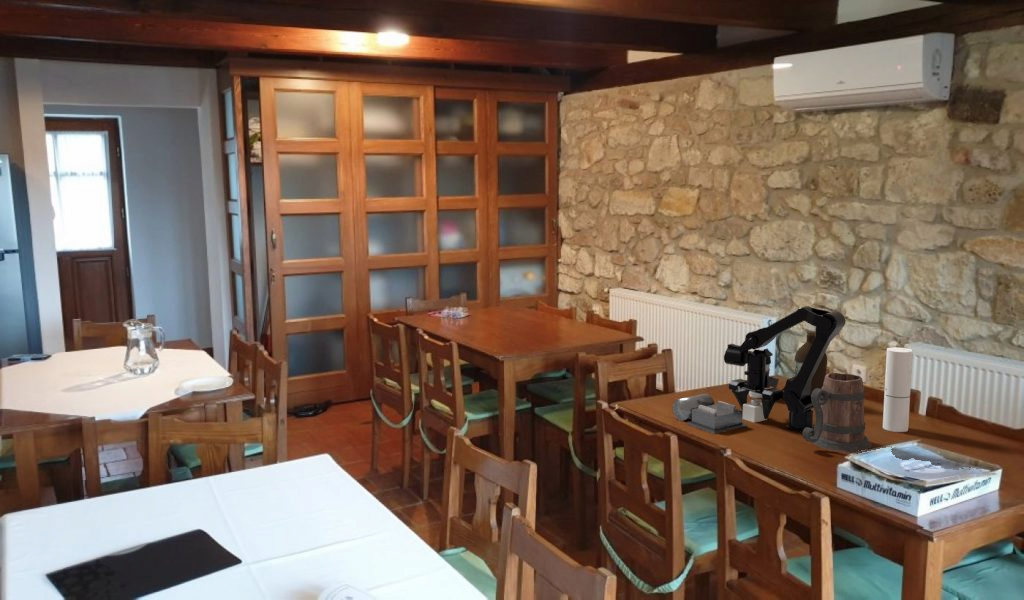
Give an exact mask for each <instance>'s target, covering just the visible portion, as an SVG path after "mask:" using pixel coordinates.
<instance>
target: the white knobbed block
mask: <svg viewBox="0 0 1024 600" xmlns="http://www.w3.org/2000/svg"><path fill="white" fill-rule="evenodd" d="M742 420H745V421H748V422H751V423H759V422H762V421H767V420H768V419H765V418H764V414H763V407H762V402H761V399H760V398H752V399H750V402H747V403H746V404H743V411H742Z"/></svg>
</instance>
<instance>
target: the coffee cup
mask: <svg viewBox="0 0 1024 600" xmlns="http://www.w3.org/2000/svg"><path fill="white" fill-rule="evenodd" d="M771 364H772V359H771V356H770V357H766V371H767V372H768V373H769V374H770V370H771V369H770V367H771ZM765 389H768V388H765ZM759 391H760V390H759ZM748 395H749V397H751V398H752V399H764V398H763V397H762V394H759V393H755V392H752V391H749V393H748Z"/></svg>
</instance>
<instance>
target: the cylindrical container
mask: <svg viewBox="0 0 1024 600" xmlns="http://www.w3.org/2000/svg"><path fill="white" fill-rule="evenodd" d="M913 354H914V353H913V350H912V349H911V348H906V347H900V346H899V347H894V346H892V347H887V348H886V355H885V358H886V359H885V360H886V361H885V378H884V396H883V398H884V399H883V415H882V416H883V417H882V429H883V430H885V431H888V432H889V431H890V432H894V433H905V432H908V430H909V421H910V407H911V405H910V401H911V387H912V384H911V383H912V369H913V368H912V367H913Z"/></svg>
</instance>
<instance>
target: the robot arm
mask: <svg viewBox="0 0 1024 600" xmlns="http://www.w3.org/2000/svg"><path fill="white" fill-rule="evenodd" d="M803 322H805V323H807V324H809V325H811V326H813V327H815V330H814V331H815V339H814V341H813V343H812V345H811V347H810V350H809V352H808V354H807V356H806V358H805V360H804V362H803V364H802V366H801V368H800V370H799V372H798V374H797V376H795V375H794V376H793V377H791V378H788V379H787V380H786V381H785V385H784V387H783V388H782V389H779V388H777V387H778V384H779V381H780V379H779V378H775V377H773V376H770V372H769V373H768V372H767V371H766V357H770V358H771V357H772V356H773V353H772V352H771V351H770V349H768V348H765V346H767V345H769V344H770V343H771V342H773V341H774V340H775V339H776V338H777V336H779V335H781V334H783V333H784V332H786V331H788V330H789V329H791V328H793V327H795V326H797V325H799V324H801V323H803ZM845 324H846V318H845V316H844V315H843V313H842V312H839V311H838V310H837V311H835V310H834V311H829V310H825V309H821V308H820V309H819V308H815V307H812V306H810V305H805V306H801V307H799V308H798V309H797V310H795V311H793V312H791V313H790V314H788V315H786V316H784V317H783V318H782V317H781V319H778V320H777V321H775V322H773V323H772V324H770V325H768V326H763V327H762V328H758V329H756V330H752V331H748V333H747V334H745V339H744V340H743V342H742V344H741V345H737V344H736V343H729V344H727V348H726V350H725V351H724V354H723V362H724V363H725V364H726V365H732V366H738V367H745V365H746V367H747V368H746V371H744V372H743V373H744V376H745V375H746V379H743V378H738V379H733V380H730V381H729V383H728V389H729V390H731V393H733V395H734V397H735V398H736V400H737V402H738V404H739V407H740V410H741V411H742V412H743V404H746V403H748V395H749V391H752V392H755V393H759V394H762V397H763V398H761V403H762V407H763V414H764V418H765V419H767V420H768V418H769V416H770V414H771V412H772V410H773V407H774V405H775V404H776V403H777V402H779V401H781V400H784V402H785V403H786V404H785V405H786V407H787V411H789V412H788V424H787V425H786V426H785V427H786V429H790V430H793V431H795V432H799V433H803V430H804V429H805V428H807V427H809V428H812V429H814V427H815V426H814V425H813V423H814V422H813V421H814V411H813V410H812V409H814V407H813V404H812V401H811V395H810V391H811V380H812V378H813V376H814V374H815V372H816V370H817V368H818V366H819V364H820V362H821V360H822V358H823V356H824V354H825V353H826V352H827V349H828V347H829V346H830V343H831V342H832V341H833V340H834V338H835V337H837V336H838V335H839V333H840V332H841V331H842V330H843V328H844V327H845ZM763 347H764V348H765V349H760V348H763ZM770 387H771V388H770ZM765 388H767V389H765ZM759 390H760V391H759Z"/></svg>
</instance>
